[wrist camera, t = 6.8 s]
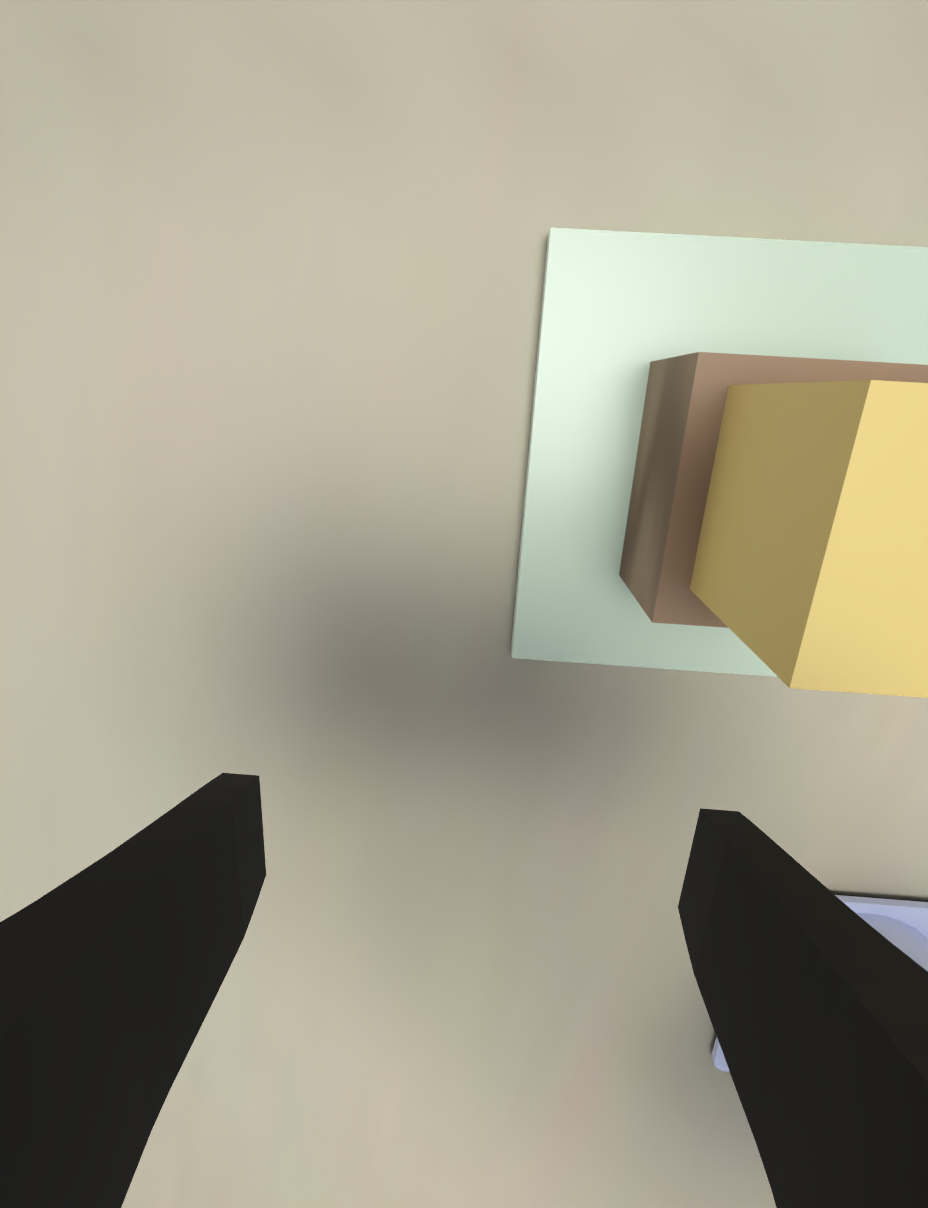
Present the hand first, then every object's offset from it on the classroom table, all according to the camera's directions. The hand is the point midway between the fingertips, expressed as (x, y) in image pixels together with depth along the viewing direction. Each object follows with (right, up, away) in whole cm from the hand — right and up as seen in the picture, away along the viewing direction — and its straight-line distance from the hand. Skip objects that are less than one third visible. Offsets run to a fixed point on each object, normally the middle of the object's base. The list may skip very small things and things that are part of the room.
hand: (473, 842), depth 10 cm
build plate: (+8, +8, +8) cm, 13 cm away
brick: (+8, +6, +3) cm, 10 cm away
